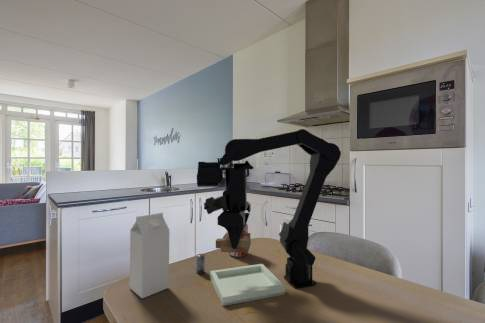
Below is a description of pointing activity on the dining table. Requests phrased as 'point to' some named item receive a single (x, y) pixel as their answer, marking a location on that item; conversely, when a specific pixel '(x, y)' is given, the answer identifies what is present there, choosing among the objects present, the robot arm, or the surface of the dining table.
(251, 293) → the tray
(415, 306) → the dining table surface
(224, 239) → the ring
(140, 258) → the milk carton
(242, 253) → the soda can
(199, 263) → the cylinder
